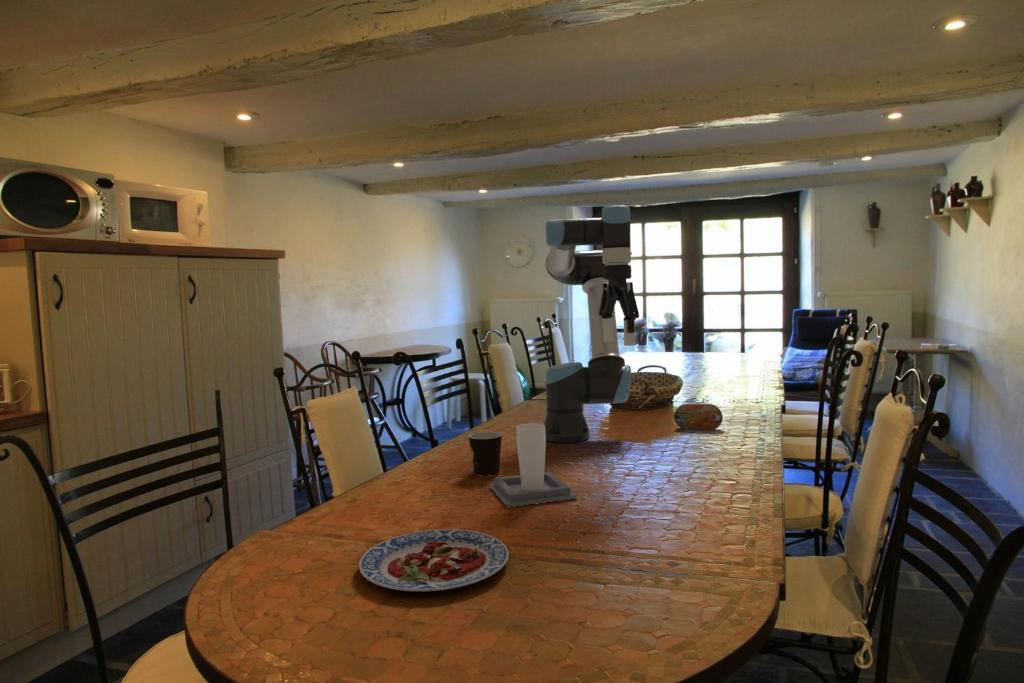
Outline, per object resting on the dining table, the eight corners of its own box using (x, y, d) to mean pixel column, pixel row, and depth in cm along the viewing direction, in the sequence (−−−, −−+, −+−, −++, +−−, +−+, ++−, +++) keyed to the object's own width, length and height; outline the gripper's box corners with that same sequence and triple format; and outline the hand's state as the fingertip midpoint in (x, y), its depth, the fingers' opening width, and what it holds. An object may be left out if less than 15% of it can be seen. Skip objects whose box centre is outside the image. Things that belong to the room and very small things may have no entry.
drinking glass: (548, 485, 158) (546, 423, 157) (546, 494, 152) (544, 429, 150) (520, 485, 159) (517, 423, 158) (516, 494, 153) (514, 429, 151)
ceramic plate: (436, 530, 135) (435, 516, 135) (538, 560, 119) (538, 544, 119) (328, 576, 115) (327, 559, 115) (433, 619, 99) (433, 600, 99)
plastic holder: (489, 487, 162) (489, 477, 161) (552, 480, 166) (552, 470, 166) (507, 508, 146) (507, 497, 146) (576, 499, 151) (575, 488, 150)
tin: (674, 429, 218) (673, 403, 218) (674, 427, 221) (674, 402, 221) (722, 430, 214) (722, 404, 213) (722, 428, 217) (722, 403, 216)
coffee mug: (499, 478, 169) (497, 439, 169) (466, 477, 171) (464, 438, 170) (508, 465, 181) (507, 429, 180) (477, 465, 182) (476, 428, 182)
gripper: (651, 262, 169) (653, 346, 170) (610, 265, 193) (612, 339, 194) (624, 262, 167) (625, 348, 168) (586, 266, 191) (587, 341, 192)
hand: (618, 343), depth 181 cm, fingers open, 13 cm apart
